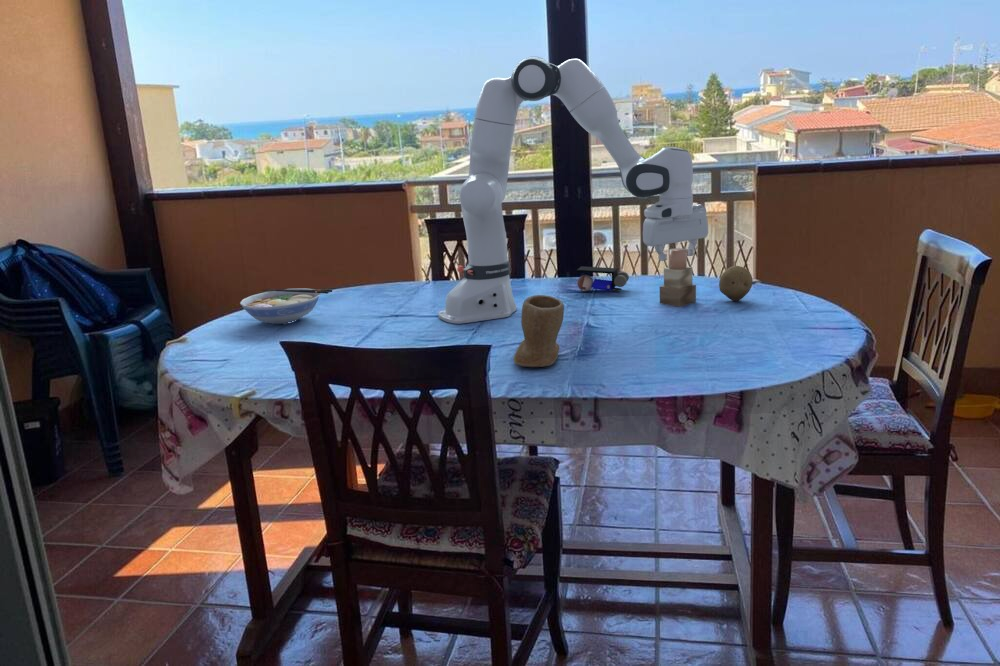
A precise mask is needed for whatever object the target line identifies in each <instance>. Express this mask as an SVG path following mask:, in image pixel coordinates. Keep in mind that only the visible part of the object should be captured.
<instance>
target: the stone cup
mask: <svg viewBox="0 0 1000 666" xmlns="http://www.w3.org/2000/svg"><path fill="white" fill-rule="evenodd" d="M564 313H565V305H564V303H563V302H562V301H561V300H560V299H559V298H556V296H555V297H554V296H552V295H551V296H550V295H544V294H535V295H531V296H528V297H527V298H526V299H524V301H523V303H522V307H521V317H520V318H521V320H520V321H521V322H520V323H521V324H520V325H521V329H522V333H523V337H524V340H522V341H521V342H520V343H519V345H518V347H517V350H516V351H515V353H514V356H513V359H512V361H513V363H514V364H515V365H517V366H519V367H527V368H539V367H541V368H542V367H543V368H544V367H549V366H551V365H553V364H554V363H555V362H556V361H557V359H558V357H559V352H560V348H561V346H560V344H558V343H557V338H558V336H559V333H560V330H561V328H562V324H563V321H564Z"/></svg>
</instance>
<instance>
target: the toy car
mask: <svg viewBox="0 0 1000 666" xmlns="http://www.w3.org/2000/svg"><path fill="white" fill-rule="evenodd" d="M618 269H619V268H618V267H598V266H583V265H582V266H580V267H579V268H577V269H576V273H594V274H611V280H608V279H599V278H594V279H593V277H591V275H589V274H588V275H587V274H583V275H581V276H580V277H578V279H577V283H576V284H577V287H578V288H579V290H580V291H582V292H588V291H591V290H592V289H593V290H601V291H610V292H611V293H613V292H614V293H620V292H621V291H622V290H623V289H622V288H623V287H625V286H626V285H627V283H628V281H629V279H630V276H629V274H628V273H627V272H626V271H619V272H618Z"/></svg>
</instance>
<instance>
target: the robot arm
mask: <svg viewBox="0 0 1000 666" xmlns="http://www.w3.org/2000/svg"><path fill="white" fill-rule="evenodd" d="M604 85H605V84H604V83H602V81H601V80H600V78H599V77H598V75H596V73H594V71H593V70H592V69H591V68H590V67H589V66H588V65H587V64H586V63H585V62H584V61H583V60H581V59H579V58H571V59H569V58H568V59H567V60H565V61H564V62H562V63H560V64H559V65H555V64H553V63H551V62H548V61H547V60H546V59H544V58H543V57H539V56H529V57H526V58H523V59H521V60H520V61H519V62H517V64H516V65H515V66H514V68H513V70H512V73H511V75H510V77H507V78H505V77H503V78H502V77H495V78H490V79H488V80H486V81H485V82H484V83H483V86H482V88H481V90H480V93H479V97H478V100H477V104H476V109H475V114H474V120H473V127H472V131H471V140H470V145H469V165H468V166H469V168H468V177H467V179H465V181H464V182H463V183H462V185H461V186H460V189H459V202H460V209H461V214H462V220H463V225H464V229H465V235H466V245H467V255H468V256H467V257H468V263H467V264H466V266H465V265H464V266H463V265H461V264H460V265H458V266H457V268H456V270H457V271H456V272H458V273H460V274H463V278H462V279H461V280H460V281H459V282H458V283H457V284H456V285H455V286H454V287H453V288H452V289H451V290H450V291H449V292H448V293H447V295H446V299H445V309H443V310H440V311H439V312H438V313H437V314H438V318H439V319H440V320H441V321H444V322H447V323H450V324H455V325H456V324H457V325H460V324H469V323H476V322H480V321H481V322H482V321H488V320H495V319H503V318H509V317H510V316H511V315H512V314H513V313H514V312H516V311H517V309H518V307H517V305H516V301H515V298H514V295H513V290H512V285H511V265H510V260H509V259H508V258H509V257H508V255H509V254H508V239H507V231H506V227H505V222H504V221H505V220H504V215H503V206H502V203H503V202H504V199H505V197H506V193H507V186H508V179H509V178H508V176H509V169H510V159H511V153H512V151H511V150H512V146H513V140H514V133H515V128H516V121H517V115H518V111H519V108H520V106H521V104H522V103H524V102H527V101H529V102H538V101H541V100H543V99H545V98H547V97H550V96H555V97H556V98H558V99H559V100H560V101H561V103H563V105H564V106H565V108H566V109H567V110H568V112H569V113H570V115H571V116H572V118H574V120H575V121H576V122H577V124H579V126H581V127H582V128H583V129H584V130H585V131H586V132H588V134H590V135H592V136H593V137H594V138H596V139H597V140H598V141H599V142H600V143H601V144H602V145H603V147H604V148H605V149H606V151H608V153H609V155H610V156H611V157H612V160H614V162H615V163H616V166H617V168H618V169H619V173H620V178H621V182H622V185H623V187H624V188H625V190H627V192H629V193H630V194H631V195H632V196H634V197H636V198H639V199H646V198H650V197H654V196H659V201H657V202H655V203H654V204H652V205H650V206H649V207H646V208H645V209H644V211H643V215H644V217H645V219H644V221H643V224H642V242H643V244H644V245H645V246H647V247H654V250H655V251H656V253H657V255H658V261H660V262H665V261H667V259H668V258H667V257H668V254H667V253H664V251H663V250H664V249H665V248H664V247H665V246H664V245H668V244H669V245H671V244H675V243H681V242H687V241H688V243H689V244H688V247H687V248H686V249H687V257H693V256H694V253H695V248H696V247H697V245H698V239H706V238H707V237H708V234H709V224H708V223H709V222H708V216H707V208H706V207H705V206H704V205H703V204H697V205H696V204H694V194H693V193H694V192H693V191H692V186H693V181H694V168H693V166H694V165H693V158H692V155H691V153H690V152H689V151H688V150H687V149H685V148H681V147H677V146H663V147H661V149H660V150H659V151H657V152H656V153H654V154H653V155H651V156H649V157H647V158H645V157H644V156H642V155H641V154H640V153H638V151H637V150H636V149H635V148H634V146H633V144H632V143H631V142H630V140H629V139H628V137H627V136H626V135H625V133H624V131H623V129H622V127H621V125H620V122H619V118H618V117H619V116H618V112H617V111H618V110H617V107H616V105H615V103H614V101H613V98H612V97H611V95H610V93H609V91H608V90H607V88H606V87H605V86H604Z"/></svg>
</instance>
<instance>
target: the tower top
mask: <svg viewBox="0 0 1000 666" xmlns="http://www.w3.org/2000/svg"><path fill="white" fill-rule="evenodd" d="M692 284H693V267H692V266H688V265H687V268H686V269H678V270H677V269H670V268H669V266H667V267H664V268H663V285H664V286H668V287H673V288H683V287H687V286H690V285H692Z"/></svg>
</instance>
